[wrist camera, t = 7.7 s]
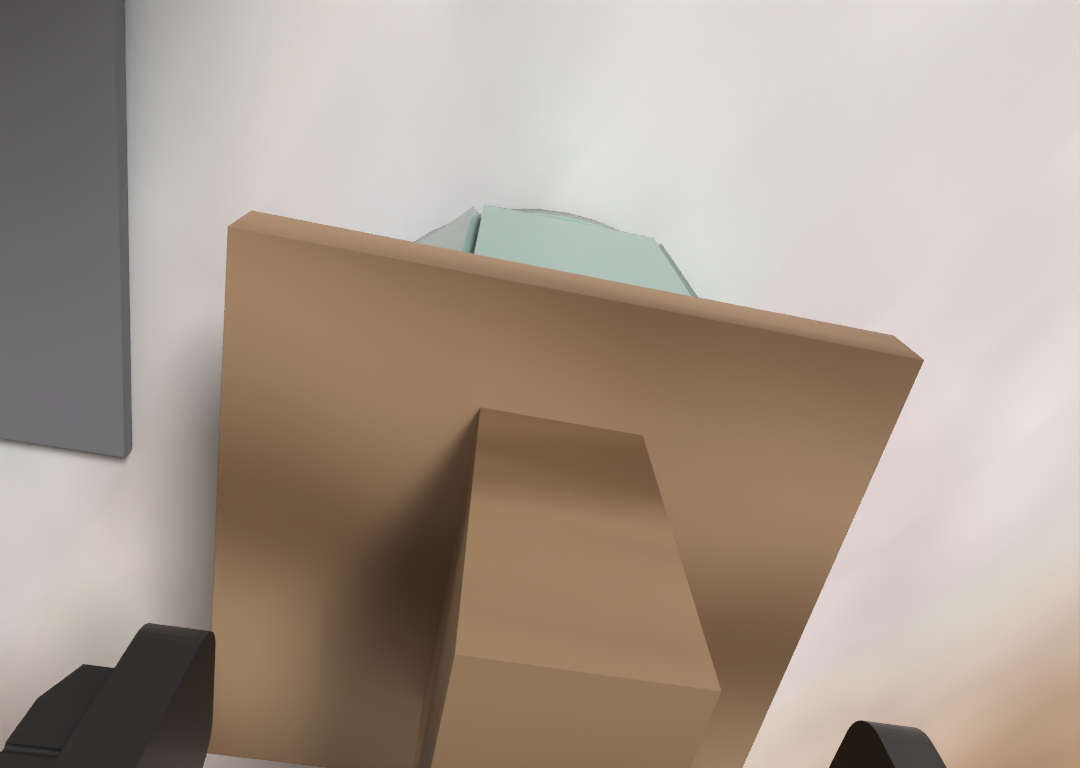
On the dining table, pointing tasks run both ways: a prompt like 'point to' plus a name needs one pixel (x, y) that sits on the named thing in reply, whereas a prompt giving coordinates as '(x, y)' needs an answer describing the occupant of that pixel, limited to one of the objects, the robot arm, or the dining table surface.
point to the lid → (518, 506)
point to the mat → (64, 226)
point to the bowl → (562, 246)
